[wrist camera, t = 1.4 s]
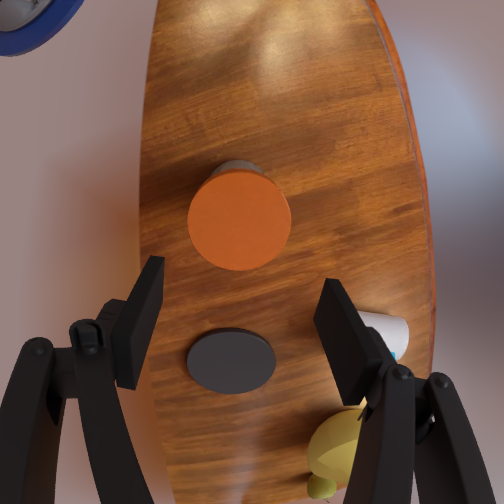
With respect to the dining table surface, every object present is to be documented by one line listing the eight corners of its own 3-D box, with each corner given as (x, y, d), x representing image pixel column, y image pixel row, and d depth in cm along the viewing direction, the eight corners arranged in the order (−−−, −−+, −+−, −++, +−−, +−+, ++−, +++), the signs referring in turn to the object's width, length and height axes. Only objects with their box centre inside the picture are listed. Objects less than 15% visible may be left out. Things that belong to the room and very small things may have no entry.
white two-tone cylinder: (343, 356, 37) (415, 360, 38) (336, 296, 43) (403, 307, 45) (307, 387, 45) (372, 389, 47) (305, 336, 51) (366, 342, 53)
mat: (185, 385, 51) (185, 389, 50) (190, 322, 45) (189, 326, 45) (265, 392, 53) (266, 396, 52) (283, 332, 47) (284, 336, 46)
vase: (304, 451, 63) (317, 521, 45) (297, 409, 55) (314, 495, 38) (379, 432, 62) (403, 496, 45) (387, 386, 55) (423, 462, 37)
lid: (186, 253, 30) (183, 263, 28) (196, 161, 27) (193, 165, 25) (276, 265, 31) (279, 276, 29) (295, 176, 28) (300, 181, 26)
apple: (322, 468, 65) (334, 500, 58) (334, 467, 70) (346, 496, 63) (296, 478, 67) (307, 509, 60) (310, 477, 72) (320, 506, 64)
